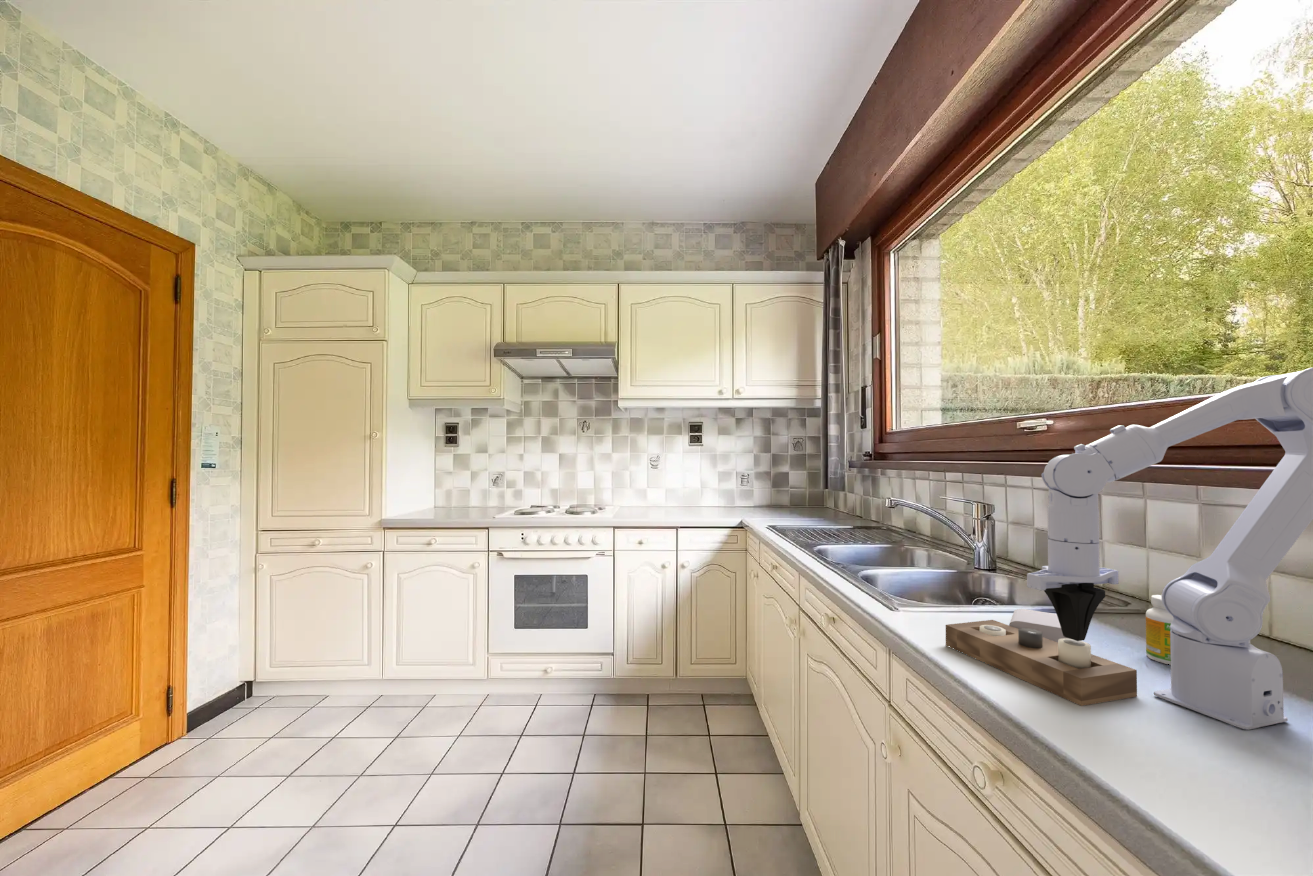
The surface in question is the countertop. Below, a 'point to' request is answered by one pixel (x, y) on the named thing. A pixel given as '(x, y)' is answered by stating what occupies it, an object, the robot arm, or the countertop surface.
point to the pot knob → (1030, 638)
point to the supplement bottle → (1158, 631)
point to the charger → (1038, 623)
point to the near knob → (1074, 653)
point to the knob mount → (1044, 664)
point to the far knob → (992, 630)
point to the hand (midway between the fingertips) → (1073, 638)
